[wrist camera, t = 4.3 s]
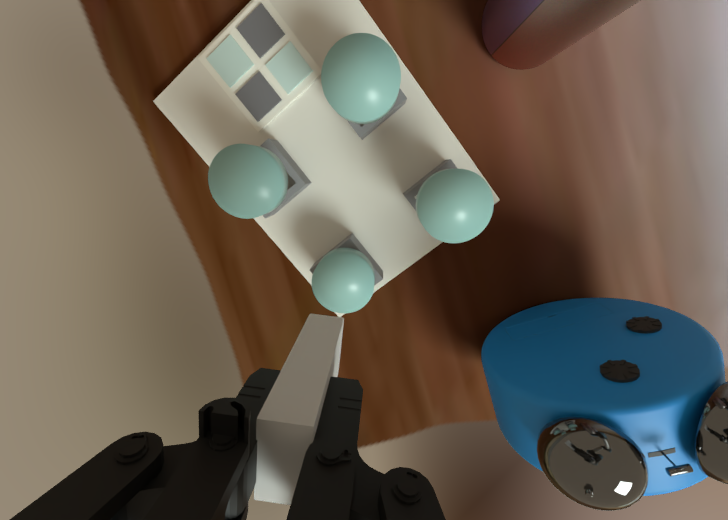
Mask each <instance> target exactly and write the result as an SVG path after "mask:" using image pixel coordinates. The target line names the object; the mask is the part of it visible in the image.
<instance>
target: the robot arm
mask: <svg viewBox="0 0 728 520" xmlns="http://www.w3.org/2000/svg"><path fill="white" fill-rule="evenodd" d="M343 323H344V318H340V317H333V316H325V315H317V314H310V315H309V317H308V318H307V320H306V322H305V324H304V326H303V328H302V330H301V332H300V334H299V336H298V338H297V340H296V342H295V344H294V346H293V348H292V350H291V352H290V354H289V356H288V358H287V360H286V362H285V364H284V366H283V368H282V370H281V371H280V370H272V369H265V368H260V369H259V370H257V371H256V372H254V373H253V374H252V375H250V376H249V378H248V379H247V381H246V383H245V384H244V387H242V389H241V390H240V392H239V394H238V396H237V397H236V398H222V399H218V400H214V401H212V402H210V403H208V404H206V405H204V406H203V407H202V408H201V409H200V410H199V438H198V439H197V441H194V442H192V443H186V444H179V445H171V446H163V442H162V439H161V437H159V436H158V435H156V434H155V433H149V432H140V433H133V434H130V435H127V436H124V437H122V438H120V439H119V440H117V441H115V442H114V443H112V444H110V445H109V446H108V447H106V448H105V449H104V450H102V451H101V452H100V453H98V454H97V455H96V456H95V457H93V458H92V459H91V460H89V461H88V462H86V463H85V464H84V465H82V466H81V467H80V468H78V469H77V470H76V471H74V472H73V473H72V474H70V475H69V476H68V477H66V478H65V479H64V480H62V481H61V482H60V483H58V484H57V485H56V486H54V487H53V488H51V489H50V490H49V491H48V492H46V493H45V494H43V495H42V496H41V497H40V498H38V499H37V500H35V501H34V502H33V503H31V504H30V505H29V506H27V507H26V508H25V509H23V510H22V511H21V512H19V513H18V514H17V515H15V516H14V517H13V518H12V519H10V520H246V518H247V513H248V501H249V498H250V496H251V493H252V491H253V489H254V500H260V501H267V502H273V503H280V504H287V505H291V506H290V509H289V513H288V516H287V520H446V519H445V517H444V515H443V512H442V509H441V507H440V504H439V502H438V499H437V497H436V494H435V492H434V489H433V487H432V485H431V484H430V482H429V481H428V479H427V478H426V477H424V476H423V475H422V474H421V473H420V472H417V471H415V470H413V469H410V468H403V467H399V468H395V469H391V470H390V471H388V472H387V473H386V474H383V473H381V472H378V471H376V470H374V469H373V468H371V467H369V466H368V465H367V464H366V463H365V462H364V461H363V460H362V459H361V457H360V456H359V453H358V450H357V440H358V431H359V422H360V413H361V404H362V394H363V389H362V387H361V385H360V383H359V381H358V380H353V379H346V378H339V377H337V376H338V371H339V361H340V352H341V342H342V332H343Z"/></svg>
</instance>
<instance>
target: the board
mask: <svg viewBox="0 0 728 520" xmlns="http://www.w3.org/2000/svg"><path fill="white" fill-rule="evenodd" d="M354 33H369V34H372V35H375V36H377V37H379V38H381V39H383V40H384V41H385V42H386V43H387V44H388V45H389V46H390V47H391V48H392V46H391V45H390V44H389V42H388V41H387V39H386V38H385V36H384V35H383V34H382V32H381V31H380V29H379V28H378V27H377V25H376V24H375V22H374V21H373V19H372V18H371V17H370V15H369V14H368V12H367V11H366V10H365V8H364V7H363V5H362V4H361V2H360V1H359V0H251V1H250V2H249V3H248V4H247V5H246V6H245V7H244V8H243V9H242V10H241V11H240V12H239V13H238V14H237V15H236V16H235V18H234V19H233V20H232V21H231V22H230V23H229V24H228V25H227V26H226V27H225V28H224V29H223V30H222V31H221V32H220V33H219V34H218V35H217V36H216V37H215V38H214V39H213V40H212V41H211V42H210V43H209V44H208V45H207V46H206V47H205V48H204V49H203V50H202V51H201V53H200V54H199V55H198V56H197V57H196V58H195V59H194V60H193V61H192V62H191V63H190V64H189V65H188V66H187V67H186V68H185V69H184V70H183V71H182V72H181V73H180V74H179V75H178V76H177V77H176V78H175V79H174V80H173V81H172V82H171V83H170V84H169V85H168V86H167V88H166V89H165V90H164V91H163V92H162V93H161V94H160V95H159V96H158V97H157V98H156V99H155V100H154V101H153V102H154V103H155V104H156V105H157V106H158V108H159V109H160V110H161V111H162V112H163V113H164V115H165V116H166V117H167V118H168V119H169V120H170V122H171V123H172V124H173V125H174V126H175V127H176V129H177V130H178V131H179V132H180V133H181V134H182V136H183V137H184V138H185V139H186V140H187V141H188V142H189V144H190V145H191V146H192V147H193V148H194V149H195V151H196V152H197V153H198V154H199V155H200V156H201V158H202V159H203V160H204V161H205V162H206V163H207V165H208V166H209V167H210V165H211V162H212V160H213V159H214V157H215V156H216V155H217V154H218V152H220V151H221V150H222V149H224V148H225V147H227V146H230V145H233V144H249V145H255V146H261V147H264V148H266V149H268V150H270V151H271V152H273V153H274V154H275V155H276V156H277V157H278V158H279V159H280V160H281V162H282V163H283V165H284V167H285V169H286V172H287V177H288V189H287V193H286V196H285V198H284V200H283V202H282V203H281V204H280V205H279V206H278V207H277V208H276V209H275V210H273V211H271V212H269V213H266V214H264V215H261V216H259V217H256V218H254V219H255V220H256V221H257V223H258V224H259V225H260V226H261V227H262V228H263V230H264V231H265V232H266V233H267V234H268V235H269V237H270V238H271V239H272V240H273V241H274V242H275V244H276V245H277V246H278V247H279V248H280V249H281V251H282V252H283V253H284V254H285V255H286V256H287V258H288V259H289V260H290V261H291V262H292V263H293V264H294V266H295V267H296V268H297V269H298V270H299V271H300V273H301V274H302V275H303V276H304V277H305V278H306V280H307V281H308V282H309V283H310V284H311V285H312V275H313V272H314V270H315V268H316V266H317V265H318V263H319V262H320V260H321V259H322V258H323V257H324V256H325V255H326V254H327V253H328V252H330V251H332V250H334V249H338V248H352V249H355V250H358V251H360V252H361V253H363V254H364V255H365V256H366V257H367V258H368V259H369V260H370V262H371V263H372V265H373V268H374V272H375V283H374V291H373V293H374V292H375V291H377V290H378V289H379V288H381V287H382V286H383V285H385V284H386V283H387V282H389V281H390V280H392V279H393V278H394V277H396V276H397V275H398V274H400V273H401V272H403V271H404V270H405V269H407V268H408V267H409V266H411V265H412V264H413V263H415V262H416V261H418V260H419V259H420V258H422V257H423V256H424V255H426V254H427V253H428V252H430V251H431V250H433V249H434V248H435V247H437V246H438V245H439V244H441V243H442V241H440V240H437V239H436V238H434V237H432V236H431V235H430V234H429V233H428V232H427V231H426V230H425V228H424V227H423V225H422V224H421V222H420V220H419V218H418V216H417V212H416V198H417V194H418V191H419V189H420V187H421V186H422V184H423V183H424V182H425V181H426V179H428V178H429V177H430V176H431V175H433V174H434V173H436V172H438V171H441V170H444V169H451V168H453V169H466V170H470V171H472V172H475V173H477V174H478V175H479V176H481V177H482V178H483V179H484V180H485V181H486V179H485V178H484V177H483V175H482V174H481V172H480V171H479V170H478V168H477V167H476V165H475V164H474V162H473V161H472V160H471V158H470V157H469V155H468V154H467V153H466V151H465V150H464V148H463V147H462V145H461V144H460V143H459V141H458V140H457V138H456V137H455V136H454V134H453V133H452V131H451V130H450V128H449V127H448V126H447V124H446V123H445V121H444V120H443V119H442V117H441V116H440V114H439V113H438V111H437V110H436V109H435V107H434V106H433V104H432V103H431V102H430V100H429V99H428V97H427V96H426V95H425V93H424V92H423V90H422V89H421V87H420V86H419V85H418V83H417V82H416V80H415V79H414V78H413V76H412V75H411V73H410V72H409V70H408V69H407V68H406V66H405V65H404V63H403V62H402V61H401V59H400V58H399V56H398V55H397V53H396V52H395V51H394V49H393V48H392V49H393V51H394V52H395V54H396V56H397V59H398V61H399V65H400V70H401V83H400V88H399V93H398V97H397V100H396V102H395V104H394V106H393V107H392V109H391V110H390V111H389V112H388V113H387V114H386V115H385V116H384V117H383V118H381V119H380V120H378V121H376V122H373V123H369V124H356V123H352V122H349V121H347V120H345V119H344V118H342V117H341V116H340V115H339V114H338V113H337V112H336V111H335V110H334V109H333V108H332V106H331V105H330V104H329V102H328V101H327V99H326V97H325V95H324V92H323V88H322V83H321V71H322V66H323V62H324V59H325V57H326V55H327V53H328V51H329V50H330V49H331V47H332V46H333V45H334V44H335V43H336V42H337V41H339V40H340V39H342V38H343V37H345V36H348V35H350V34H354ZM486 182H487V181H486ZM487 184H488V182H487ZM488 185H489V184H488ZM489 187H490V185H489ZM490 189H491V191H492V195H493V200H494V204H495V203H497V202H498V201H500V199H499V198H498V196H497V195H496V194H495V192H494V191H493V189H492V188H491V187H490ZM335 313H336V314H337V316H338V317H341V316H342V315H344V314H345V313H337V312H335Z"/></svg>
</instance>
